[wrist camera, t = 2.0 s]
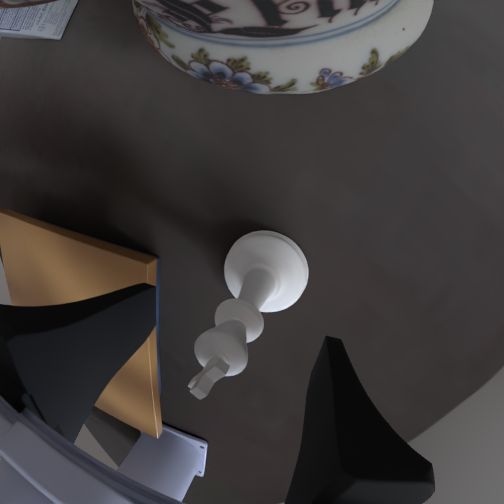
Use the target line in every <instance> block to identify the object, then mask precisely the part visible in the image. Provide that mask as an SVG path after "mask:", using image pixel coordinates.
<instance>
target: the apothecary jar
mask: <svg viewBox="0 0 504 504" xmlns="http://www.w3.org/2000/svg"><path fill="white" fill-rule="evenodd" d="M54 1H58V0H0V9H10V8H23V7H31V6H37V5H42V4H47V3H51V2H54ZM132 4H133V11H134V14H135V17H136V19H137V24H138V25H139V27H140V28H141V30H142V32H143V34H144V35H145V37H146V39H147V40H148V41H149V43H150V44H151V45H152V46H153V48H154V49H155V50H156V51H157V52H158V53H159V54H160V55H162V56H163V57H164V58H165V59H166V60H168V61H169V62H170V63H171V64H173V65H174V66H176V67H177V68H179V69H181V70H182V71H184V72H186V73H188V74H189V75H191V76H193V77H195V78H198V79H200V80H202V81H205V82H208V83H210V84H213V85H216V86H220V87H223V88H227V89H231V90H236V91H242V92H248V93H258V94H306V93H315V92H321V91H325V90H328V89H332V88H335V87H338V86H341V85H345V84H348V83H351V82H354V81H357V80H359V79H362V78H364V77H367V76H369V75H371V74H373V73H374V72H376V71H378V70H380V69H382V68H384V67H385V66H387V65H388V64H390V63H391V62H393V61H394V60H396V59H397V58H398V57H400V56H401V55H402V54H403V53H405V52H406V51H407V50H408V49H409V48H410V47H411V46H412V45H413V44H414V42H415V41H416V40H417V39H418V38H419V36H420V35H421V33H422V32H423V30H424V29H425V27H426V25H427V22H428V20H429V17H430V14H431V11H432V6H433V0H132Z"/></svg>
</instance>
